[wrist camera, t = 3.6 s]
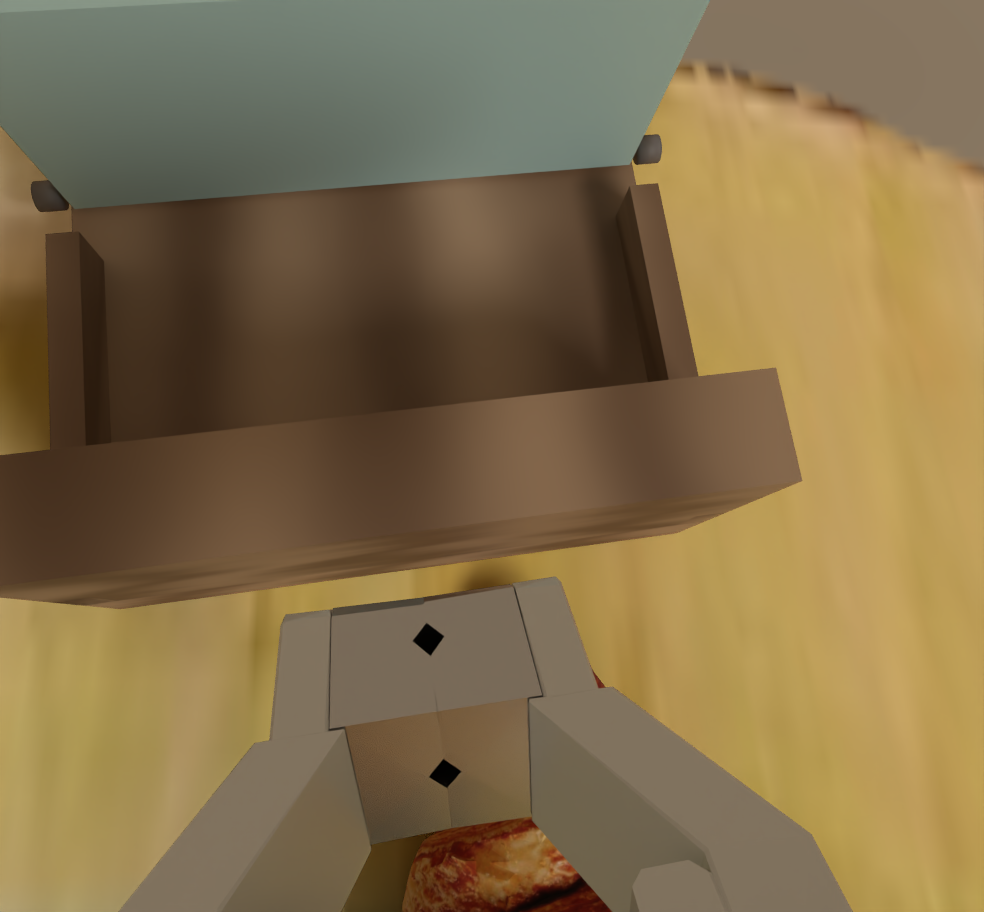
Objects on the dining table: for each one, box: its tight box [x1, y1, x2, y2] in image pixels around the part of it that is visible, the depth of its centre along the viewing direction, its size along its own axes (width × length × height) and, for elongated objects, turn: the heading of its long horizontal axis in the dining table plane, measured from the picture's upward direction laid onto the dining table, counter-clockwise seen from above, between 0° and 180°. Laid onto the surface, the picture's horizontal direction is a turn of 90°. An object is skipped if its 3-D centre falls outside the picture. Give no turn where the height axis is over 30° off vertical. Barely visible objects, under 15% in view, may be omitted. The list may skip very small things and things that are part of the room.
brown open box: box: [0, 134, 802, 609], centre depth 25 cm, size 22×14×10 cm, turn 98°
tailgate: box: [0, 0, 710, 209], centre depth 23 cm, size 20×2×9 cm, turn 98°
